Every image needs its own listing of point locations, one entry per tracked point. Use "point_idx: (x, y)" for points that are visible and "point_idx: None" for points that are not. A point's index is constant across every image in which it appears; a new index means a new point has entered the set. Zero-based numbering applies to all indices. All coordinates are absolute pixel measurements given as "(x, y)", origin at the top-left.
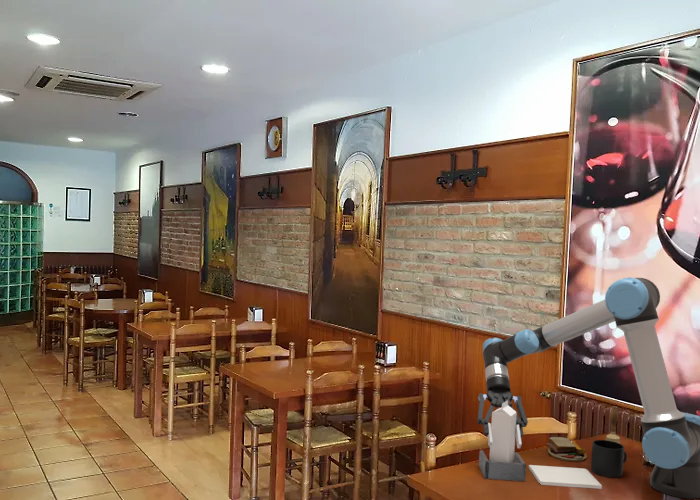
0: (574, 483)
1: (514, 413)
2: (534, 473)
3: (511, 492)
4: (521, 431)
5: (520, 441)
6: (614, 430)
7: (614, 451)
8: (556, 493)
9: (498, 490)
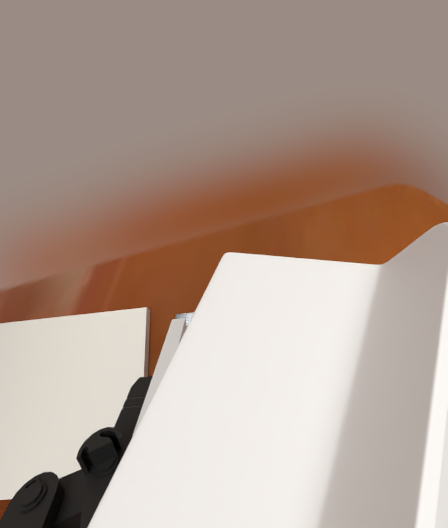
0: (48, 320)
1: (147, 412)
2: None
3: (240, 236)
4: (136, 401)
5: (173, 329)
6: None
7: None
8: (125, 261)
9: (272, 238)
